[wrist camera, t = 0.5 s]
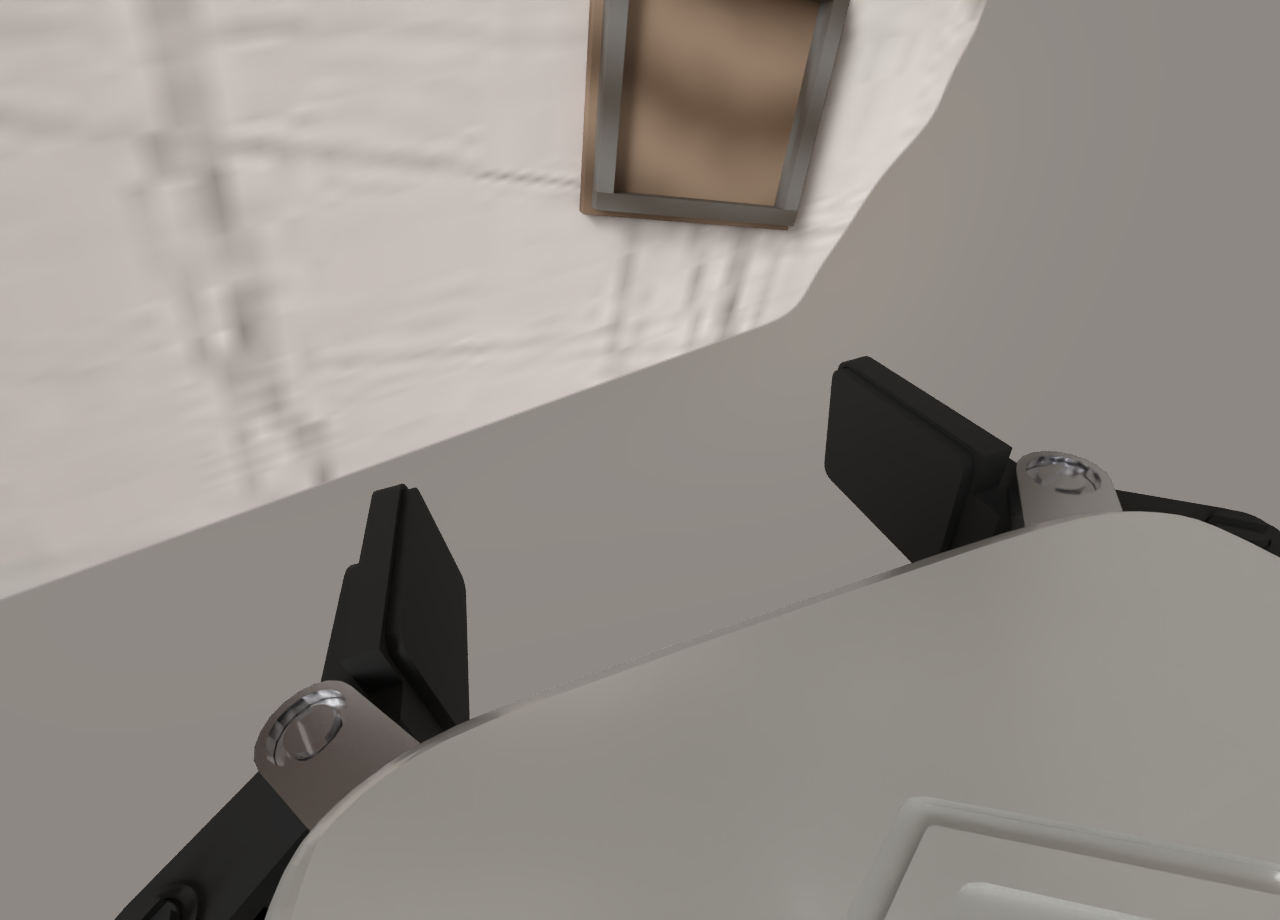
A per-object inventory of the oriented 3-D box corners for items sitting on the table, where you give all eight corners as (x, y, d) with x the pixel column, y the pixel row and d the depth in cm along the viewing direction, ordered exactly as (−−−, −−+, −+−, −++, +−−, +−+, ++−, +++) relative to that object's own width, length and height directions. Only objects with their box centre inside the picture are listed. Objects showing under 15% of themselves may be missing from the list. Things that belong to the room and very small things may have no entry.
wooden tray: (594, -83, 28) (606, -98, 25) (837, -22, 32) (865, -31, 30) (579, 210, 35) (587, 218, 33) (779, 226, 40) (797, 234, 37)
